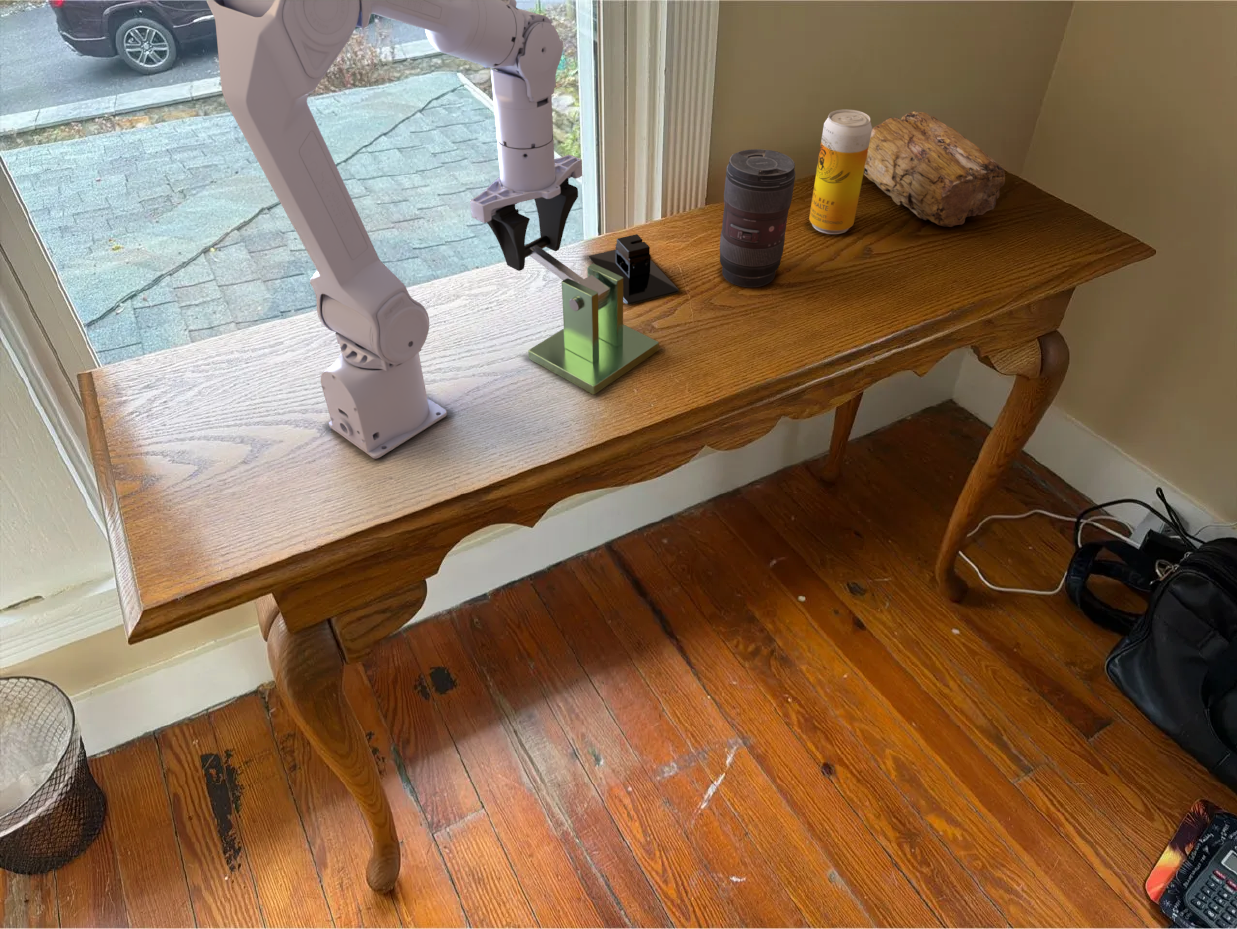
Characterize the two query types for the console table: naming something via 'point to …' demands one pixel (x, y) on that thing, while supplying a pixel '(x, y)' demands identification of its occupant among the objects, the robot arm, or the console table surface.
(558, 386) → the console table surface
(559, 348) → the bracket
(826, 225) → the beer can
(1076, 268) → the console table surface
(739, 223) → the camera lens
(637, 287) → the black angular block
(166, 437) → the console table surface
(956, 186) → the petrified wood
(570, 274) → the lever
